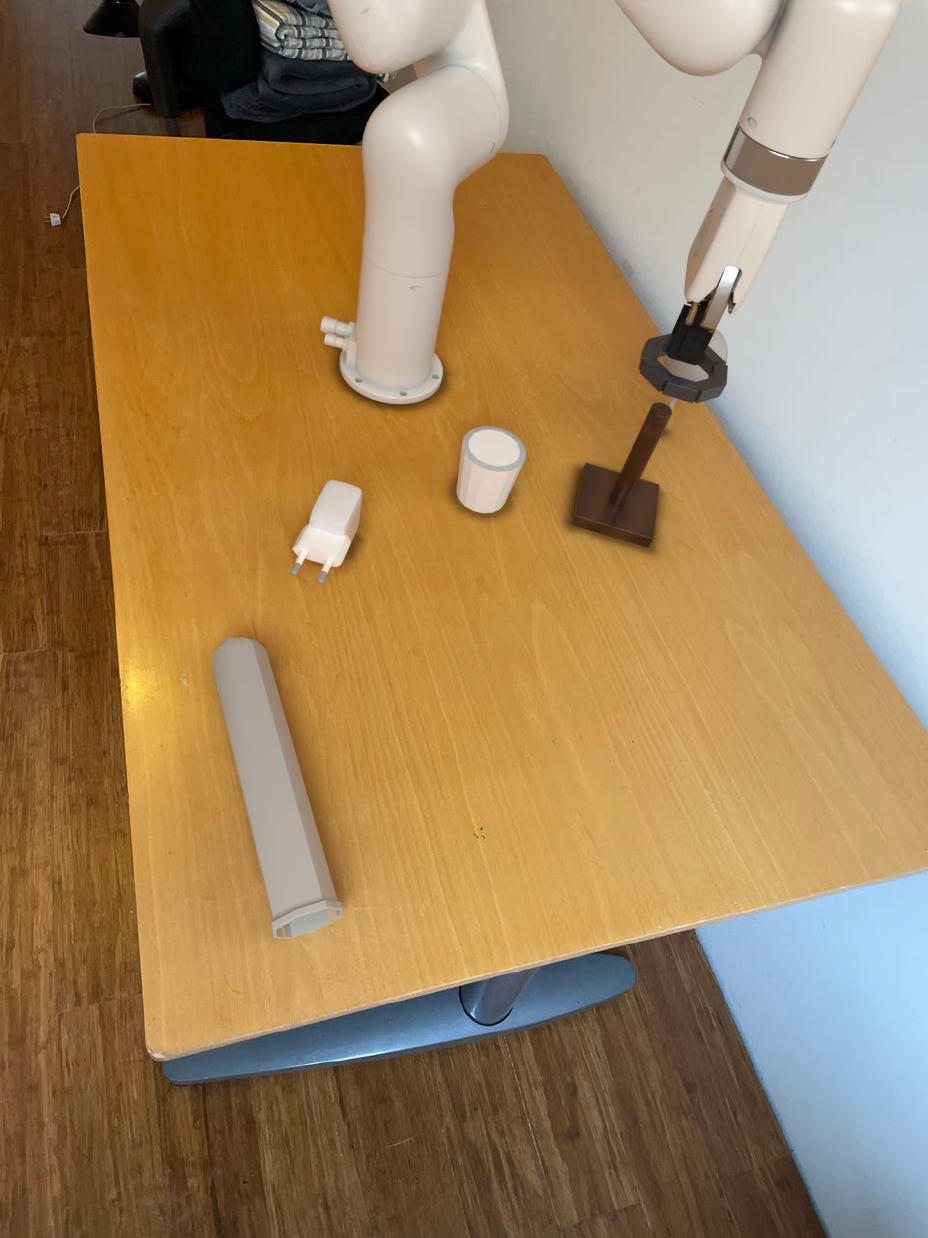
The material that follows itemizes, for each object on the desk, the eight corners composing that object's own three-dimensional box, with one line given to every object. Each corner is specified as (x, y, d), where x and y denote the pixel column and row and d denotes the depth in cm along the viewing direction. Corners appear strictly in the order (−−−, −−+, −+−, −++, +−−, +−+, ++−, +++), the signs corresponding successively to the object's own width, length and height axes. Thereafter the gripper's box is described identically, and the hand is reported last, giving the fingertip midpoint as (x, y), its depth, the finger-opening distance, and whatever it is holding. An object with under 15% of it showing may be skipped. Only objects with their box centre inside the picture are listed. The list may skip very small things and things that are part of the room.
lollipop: (684, 457, 101) (738, 355, 89) (629, 441, 100) (676, 337, 89) (686, 421, 105) (738, 319, 93) (633, 405, 105) (679, 302, 93)
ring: (635, 385, 76) (640, 373, 74) (644, 337, 81) (649, 325, 79) (719, 411, 76) (726, 399, 74) (723, 361, 81) (729, 349, 79)
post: (571, 524, 90) (614, 424, 79) (581, 471, 96) (623, 370, 84) (648, 547, 90) (703, 450, 79) (654, 493, 96) (706, 395, 84)
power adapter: (329, 607, 78) (332, 569, 73) (280, 592, 78) (281, 553, 73) (365, 527, 84) (370, 487, 80) (320, 513, 84) (323, 472, 80)
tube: (193, 640, 68) (260, 932, 56) (253, 617, 69) (333, 901, 56) (217, 668, 73) (285, 944, 60) (274, 646, 73) (352, 916, 61)
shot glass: (518, 485, 92) (534, 439, 87) (500, 526, 88) (515, 479, 83) (462, 464, 93) (474, 416, 87) (442, 503, 88) (453, 455, 83)
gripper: (729, 108, 70) (652, 299, 85) (725, 190, 60) (639, 389, 75) (813, 133, 70) (721, 320, 85) (821, 219, 61) (716, 412, 75)
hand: (683, 351), depth 80 cm, fingers closed on ring, 1 cm apart
